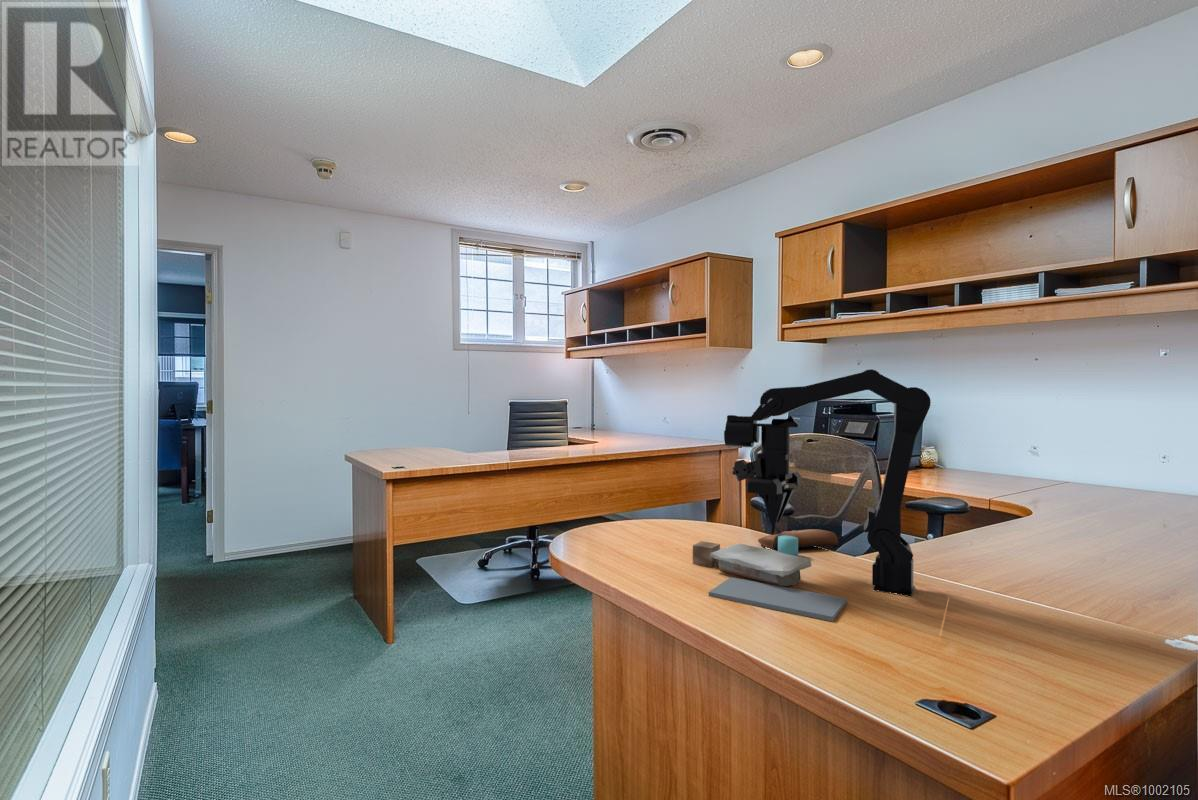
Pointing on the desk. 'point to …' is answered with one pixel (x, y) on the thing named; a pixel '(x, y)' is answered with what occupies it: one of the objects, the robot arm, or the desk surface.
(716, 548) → the walnut block
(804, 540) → the sweet potato
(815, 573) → the desk surface
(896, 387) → the robot arm
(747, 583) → the mat
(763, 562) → the light grey block
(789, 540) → the teal cylinder
